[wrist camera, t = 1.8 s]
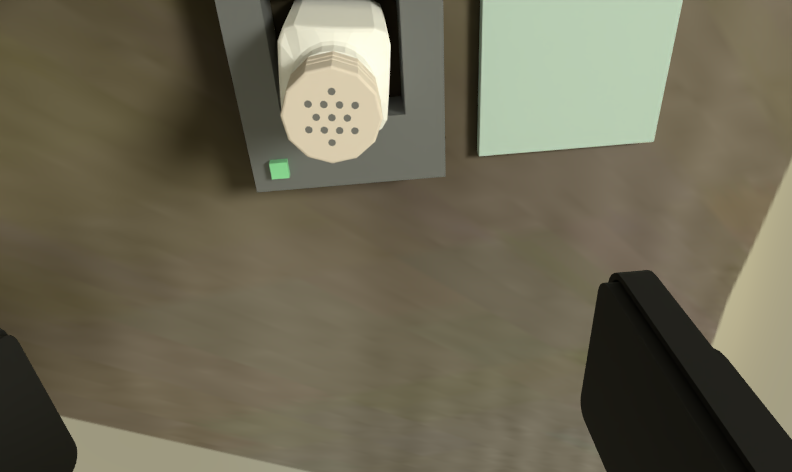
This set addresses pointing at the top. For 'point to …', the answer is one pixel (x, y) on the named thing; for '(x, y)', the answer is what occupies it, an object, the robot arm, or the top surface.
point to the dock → (396, 142)
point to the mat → (571, 72)
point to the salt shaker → (334, 76)
